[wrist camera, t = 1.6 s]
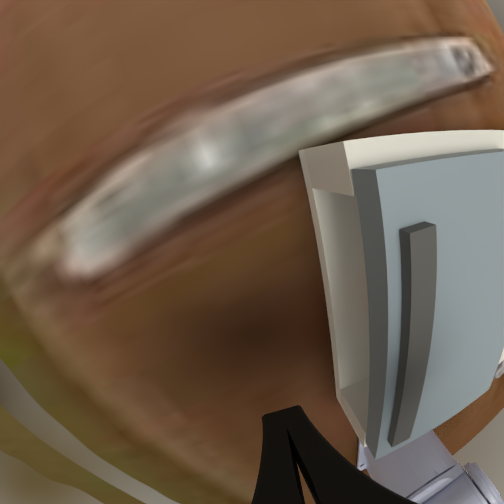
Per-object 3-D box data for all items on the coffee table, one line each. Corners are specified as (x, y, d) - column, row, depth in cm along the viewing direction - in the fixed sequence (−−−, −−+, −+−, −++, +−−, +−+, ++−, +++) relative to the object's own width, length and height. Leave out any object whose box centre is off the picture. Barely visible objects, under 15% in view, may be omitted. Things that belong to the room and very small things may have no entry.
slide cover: (476, 377, 15) (493, 393, 12) (365, 442, 14) (378, 466, 12) (499, 148, 10) (530, 150, 8) (351, 168, 9) (386, 170, 7)
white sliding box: (515, 297, 21) (547, 315, 16) (336, 397, 20) (363, 447, 14) (517, 131, 16) (559, 133, 11) (298, 150, 14) (343, 141, 9)
